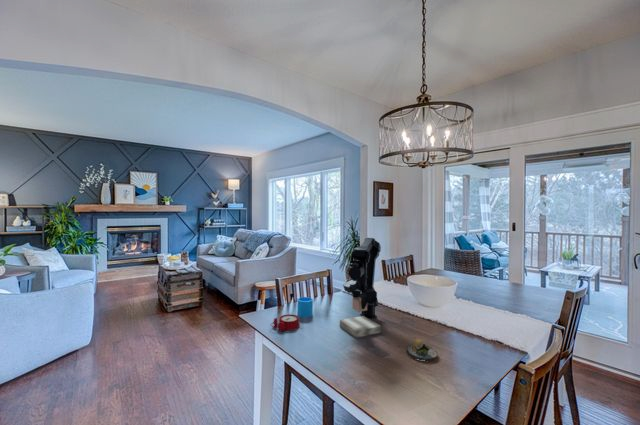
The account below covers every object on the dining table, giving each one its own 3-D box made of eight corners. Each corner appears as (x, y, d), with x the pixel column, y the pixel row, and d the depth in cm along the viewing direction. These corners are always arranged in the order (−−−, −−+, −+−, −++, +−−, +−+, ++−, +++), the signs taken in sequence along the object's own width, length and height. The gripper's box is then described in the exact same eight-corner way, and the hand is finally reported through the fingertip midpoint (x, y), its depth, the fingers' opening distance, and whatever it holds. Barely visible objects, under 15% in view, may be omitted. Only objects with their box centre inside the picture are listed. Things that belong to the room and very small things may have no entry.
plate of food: (434, 366, 108) (434, 346, 108) (402, 356, 114) (403, 338, 114) (440, 352, 118) (440, 334, 118) (410, 345, 124) (411, 327, 124)
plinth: (363, 321, 148) (363, 315, 148) (380, 332, 136) (380, 326, 136) (339, 326, 142) (339, 320, 142) (355, 337, 129) (355, 331, 129)
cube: (361, 306, 142) (361, 296, 141) (367, 310, 137) (367, 299, 137) (352, 308, 139) (352, 298, 139) (358, 311, 135) (358, 301, 135)
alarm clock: (305, 319, 140) (279, 318, 132) (303, 332, 140) (275, 332, 131) (294, 312, 149) (268, 311, 140) (292, 325, 148) (266, 325, 139)
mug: (314, 316, 154) (315, 300, 154) (300, 318, 151) (300, 302, 151) (307, 308, 165) (307, 294, 165) (293, 310, 162) (293, 295, 162)
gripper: (335, 271, 142) (335, 303, 143) (357, 281, 126) (356, 317, 126) (354, 269, 147) (354, 300, 148) (378, 278, 131) (377, 313, 131)
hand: (359, 307), depth 138 cm, fingers closed on cube, 5 cm apart
